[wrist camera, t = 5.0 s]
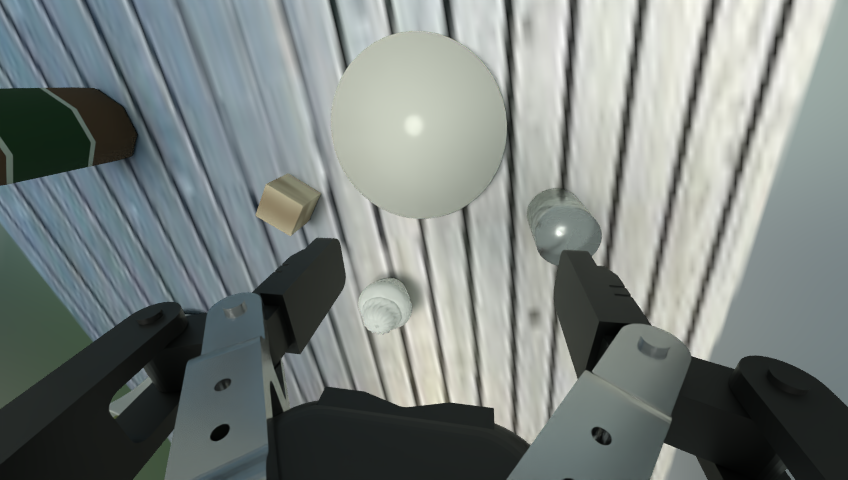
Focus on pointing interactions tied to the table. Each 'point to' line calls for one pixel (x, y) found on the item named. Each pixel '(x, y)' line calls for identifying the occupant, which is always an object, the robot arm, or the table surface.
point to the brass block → (287, 203)
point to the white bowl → (418, 124)
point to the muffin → (385, 305)
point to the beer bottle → (60, 131)
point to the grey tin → (561, 224)
